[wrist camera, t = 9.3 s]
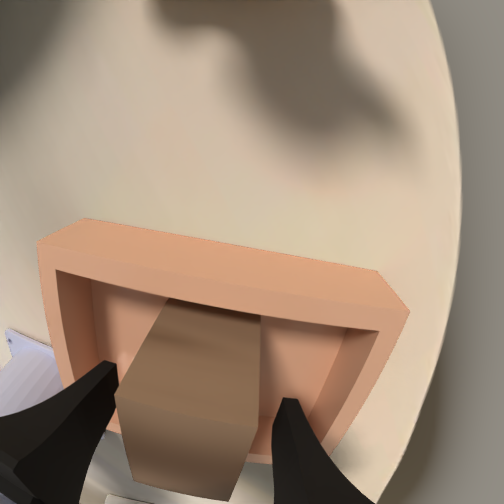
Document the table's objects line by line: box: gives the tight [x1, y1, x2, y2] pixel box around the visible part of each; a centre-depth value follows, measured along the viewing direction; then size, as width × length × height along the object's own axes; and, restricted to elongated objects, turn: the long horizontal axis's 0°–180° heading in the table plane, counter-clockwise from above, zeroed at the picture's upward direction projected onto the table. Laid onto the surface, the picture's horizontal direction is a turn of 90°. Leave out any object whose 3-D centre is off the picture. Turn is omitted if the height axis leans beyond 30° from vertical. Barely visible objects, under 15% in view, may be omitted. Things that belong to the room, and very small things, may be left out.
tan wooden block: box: [114, 297, 261, 502], centre depth 11 cm, size 6×4×7 cm, turn 169°
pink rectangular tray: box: [37, 218, 410, 464], centre depth 14 cm, size 11×15×4 cm
